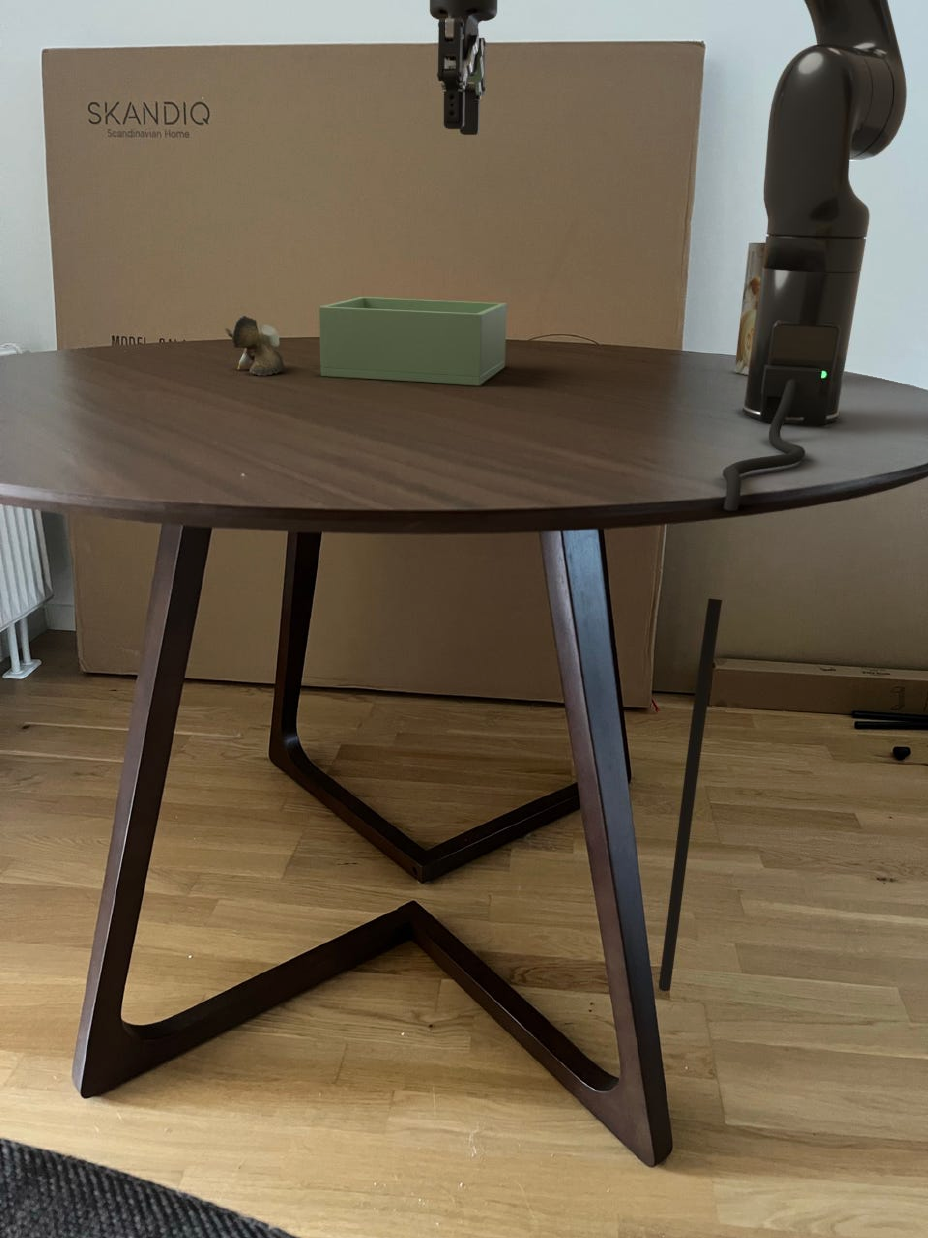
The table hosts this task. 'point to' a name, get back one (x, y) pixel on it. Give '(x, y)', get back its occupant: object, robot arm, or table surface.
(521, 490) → the table surface
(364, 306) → the bin
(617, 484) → the table surface
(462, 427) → the table surface
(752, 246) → the coffee box
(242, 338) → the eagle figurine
